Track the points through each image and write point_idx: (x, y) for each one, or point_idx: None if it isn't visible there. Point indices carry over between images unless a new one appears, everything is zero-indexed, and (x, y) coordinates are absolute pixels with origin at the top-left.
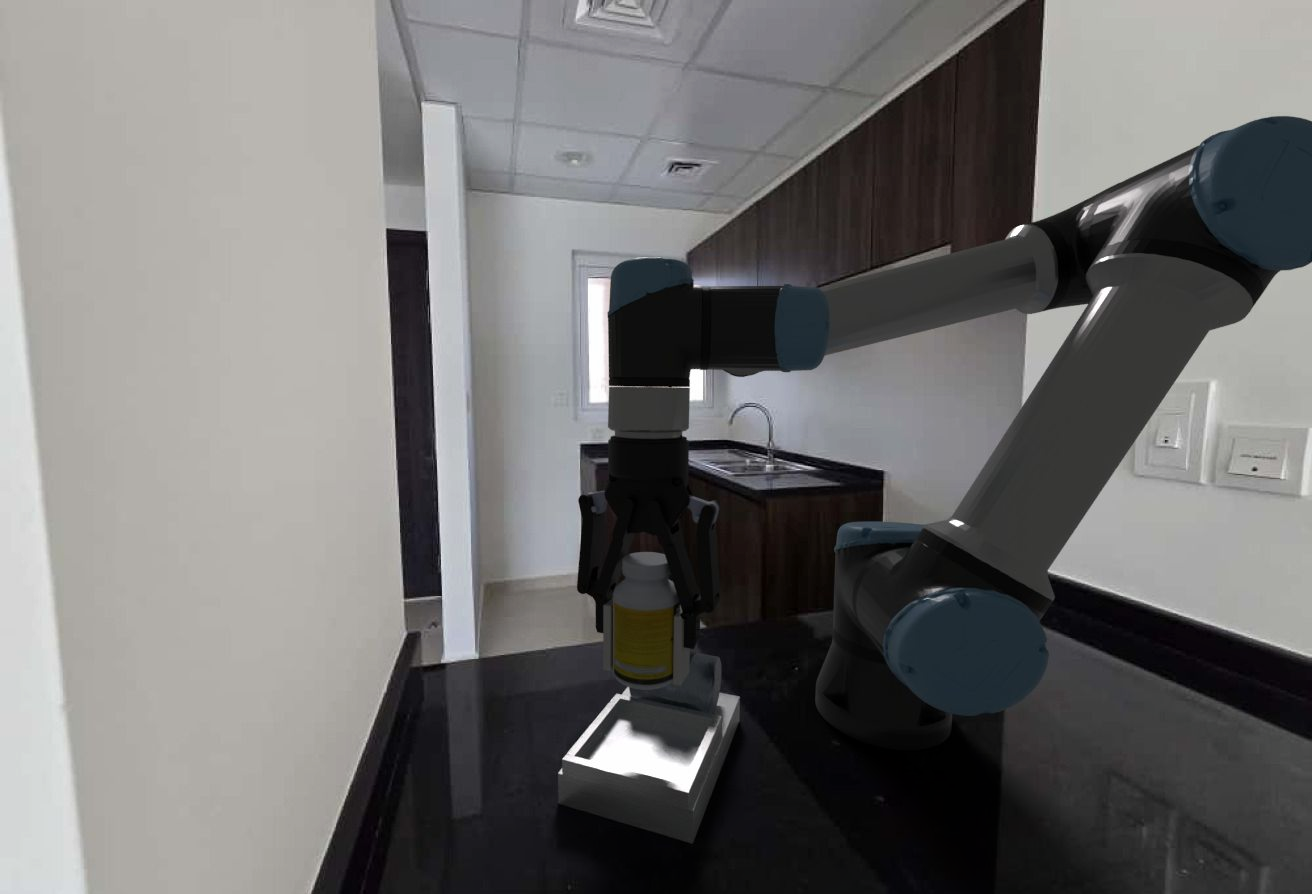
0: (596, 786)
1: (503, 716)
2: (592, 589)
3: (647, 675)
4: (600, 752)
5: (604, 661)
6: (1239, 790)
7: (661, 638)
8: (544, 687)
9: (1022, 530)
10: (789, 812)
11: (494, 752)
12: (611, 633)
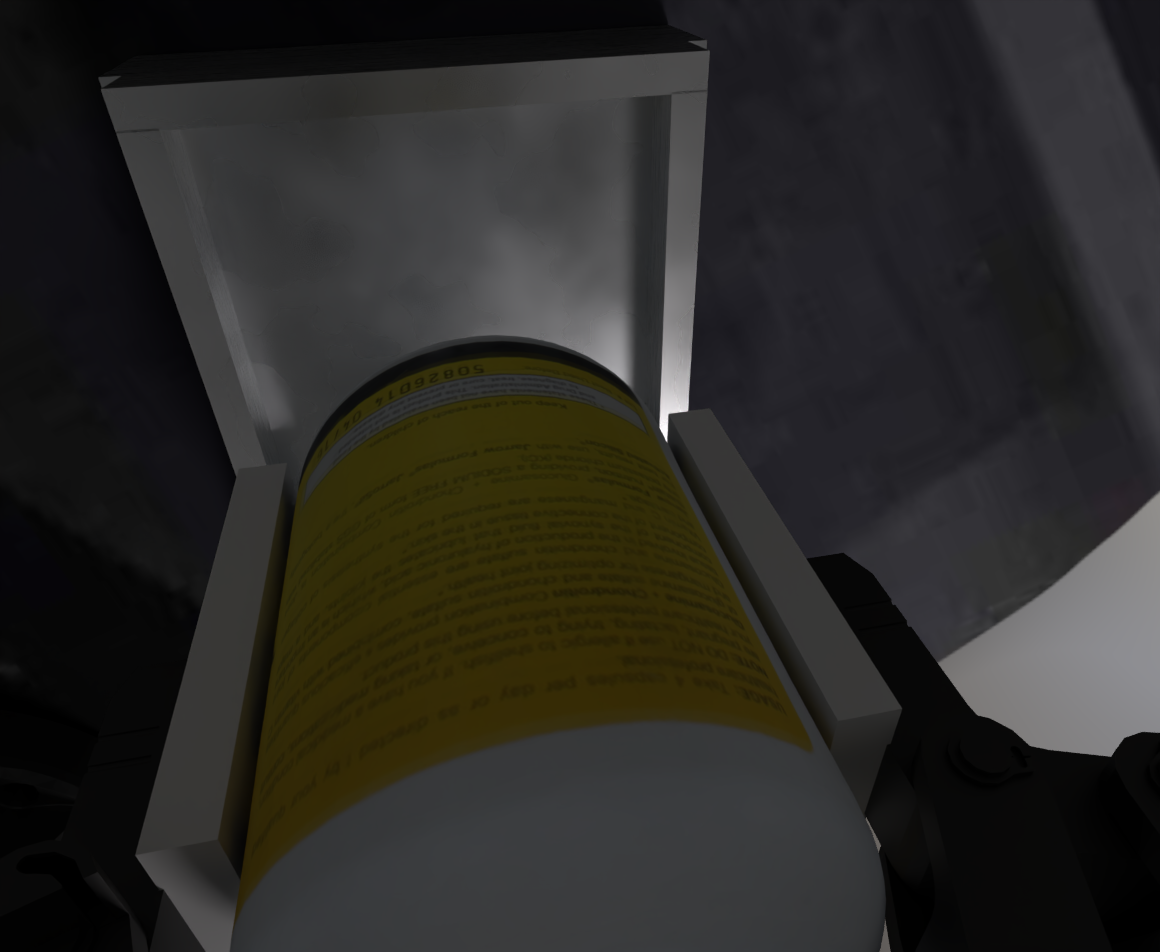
0: (533, 48)
1: (1014, 325)
2: (1077, 809)
3: (387, 396)
4: (608, 228)
5: (719, 435)
6: None
7: (307, 620)
8: (938, 493)
9: None
10: None
11: (980, 159)
12: (743, 564)
